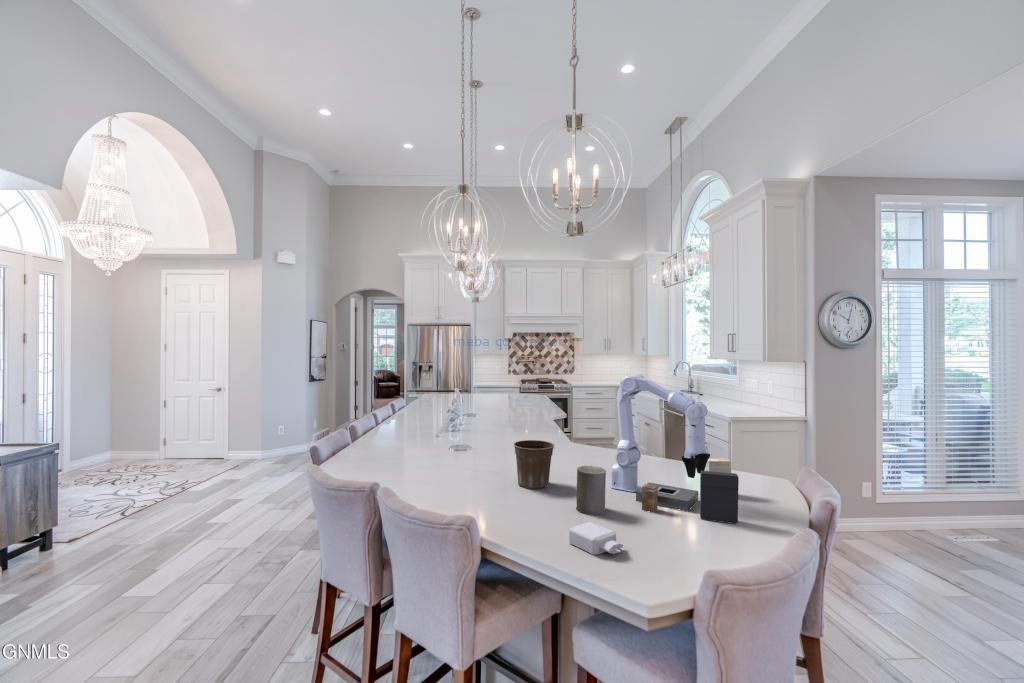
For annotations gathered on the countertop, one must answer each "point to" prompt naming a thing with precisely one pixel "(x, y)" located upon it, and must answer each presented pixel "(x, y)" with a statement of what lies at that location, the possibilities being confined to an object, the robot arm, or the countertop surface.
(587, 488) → the pillar candle
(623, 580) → the countertop surface
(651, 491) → the key peg
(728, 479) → the black rectangular box
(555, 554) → the countertop surface
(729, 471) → the supplement box
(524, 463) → the plant pot
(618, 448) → the robot arm
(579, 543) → the charger
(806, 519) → the countertop surface
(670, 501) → the grey peg hole board
